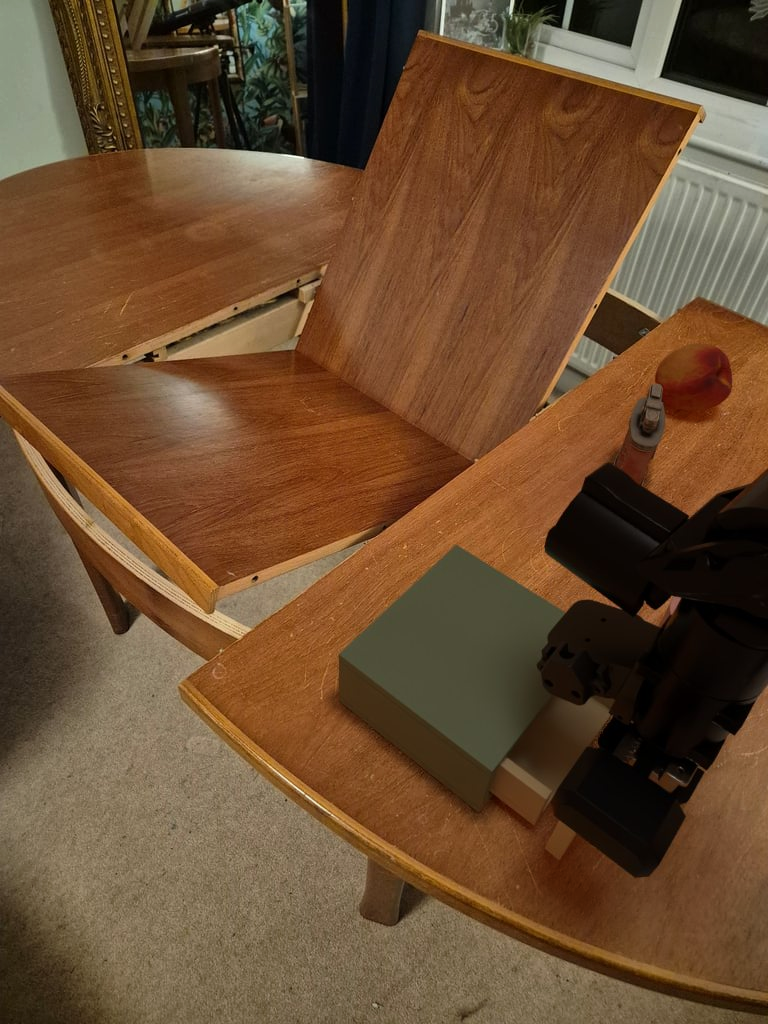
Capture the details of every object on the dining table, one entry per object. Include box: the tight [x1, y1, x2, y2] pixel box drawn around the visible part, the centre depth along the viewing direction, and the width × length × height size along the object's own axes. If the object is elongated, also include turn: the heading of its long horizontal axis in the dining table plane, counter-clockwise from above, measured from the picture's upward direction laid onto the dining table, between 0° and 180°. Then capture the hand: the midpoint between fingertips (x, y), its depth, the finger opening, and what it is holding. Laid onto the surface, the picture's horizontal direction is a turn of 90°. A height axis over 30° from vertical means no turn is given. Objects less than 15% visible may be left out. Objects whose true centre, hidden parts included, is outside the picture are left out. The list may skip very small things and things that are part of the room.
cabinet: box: [338, 544, 567, 813], centre depth 58 cm, size 14×15×7 cm
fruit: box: [654, 343, 733, 413], centre depth 86 cm, size 8×8×8 cm
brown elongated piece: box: [612, 382, 666, 486], centre depth 76 cm, size 8×3×10 cm, turn 161°
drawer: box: [489, 696, 688, 861], centre depth 54 cm, size 17×13×5 cm
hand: (632, 781), depth 51 cm, fingers closed, pressing on drawer
